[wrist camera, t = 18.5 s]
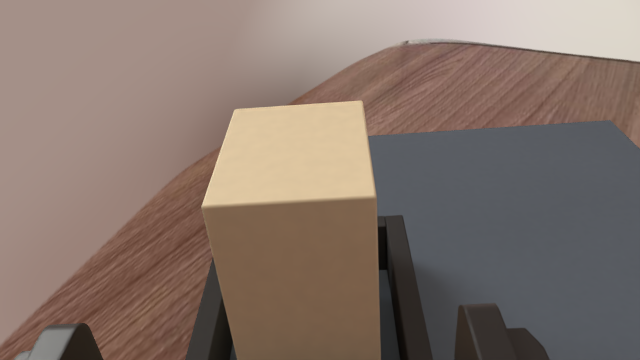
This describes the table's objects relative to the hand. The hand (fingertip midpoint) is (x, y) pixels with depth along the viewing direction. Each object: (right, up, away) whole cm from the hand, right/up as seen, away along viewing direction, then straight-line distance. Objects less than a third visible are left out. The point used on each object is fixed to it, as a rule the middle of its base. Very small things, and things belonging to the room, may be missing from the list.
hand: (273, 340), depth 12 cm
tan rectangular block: (+1, -3, +9) cm, 10 cm away
